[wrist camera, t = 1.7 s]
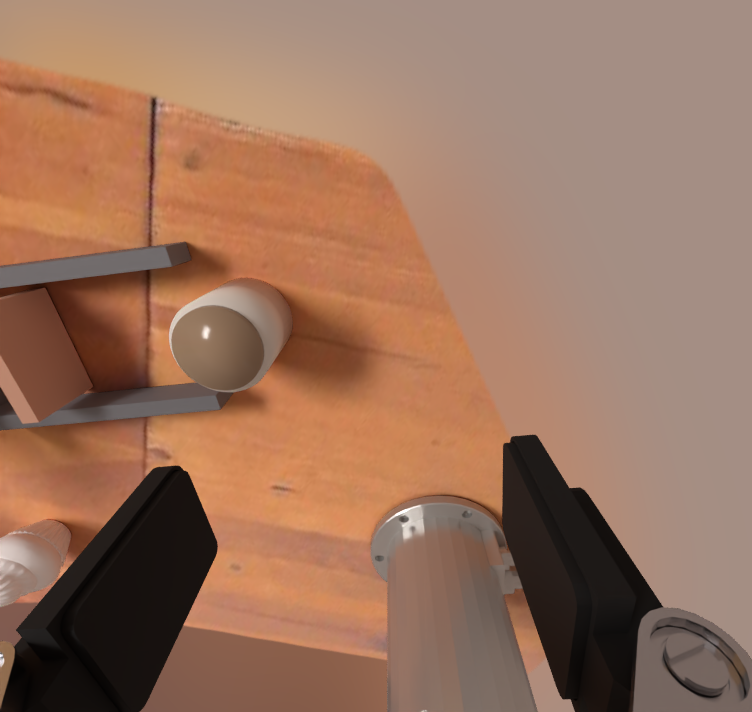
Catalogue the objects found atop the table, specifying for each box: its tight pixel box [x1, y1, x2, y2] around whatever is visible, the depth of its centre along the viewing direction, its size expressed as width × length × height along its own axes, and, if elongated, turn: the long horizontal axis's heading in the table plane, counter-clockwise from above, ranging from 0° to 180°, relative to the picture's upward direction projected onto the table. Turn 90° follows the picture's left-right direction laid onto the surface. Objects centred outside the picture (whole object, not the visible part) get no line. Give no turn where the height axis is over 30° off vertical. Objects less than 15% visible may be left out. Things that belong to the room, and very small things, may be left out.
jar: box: [169, 278, 293, 392], centre depth 24 cm, size 6×6×6 cm
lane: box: [0, 242, 233, 430], centre depth 25 cm, size 20×12×5 cm, turn 97°
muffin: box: [0, 519, 71, 607], centre depth 33 cm, size 6×6×7 cm
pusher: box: [0, 288, 93, 424], centre depth 26 cm, size 1×8×5 cm, turn 7°
